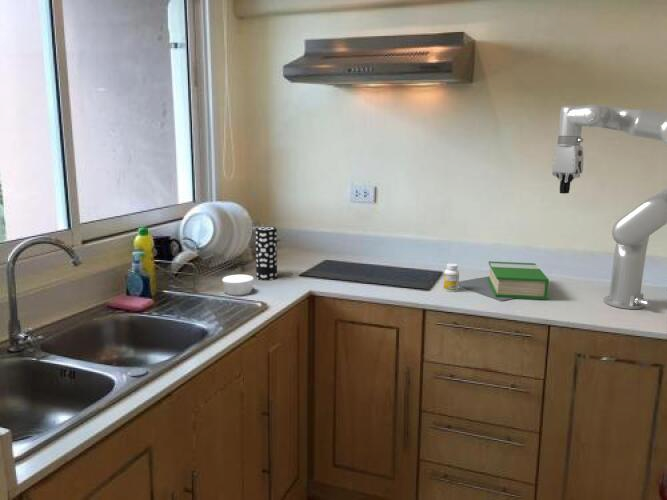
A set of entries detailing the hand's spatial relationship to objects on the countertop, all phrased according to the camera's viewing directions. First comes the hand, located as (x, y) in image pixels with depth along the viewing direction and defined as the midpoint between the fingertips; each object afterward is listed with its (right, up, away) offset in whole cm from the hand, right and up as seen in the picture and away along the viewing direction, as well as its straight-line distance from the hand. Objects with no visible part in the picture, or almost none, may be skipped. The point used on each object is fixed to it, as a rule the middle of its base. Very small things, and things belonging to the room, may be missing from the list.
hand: (564, 193), depth 205 cm
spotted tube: (-110, -32, +22) cm, 117 cm away
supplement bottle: (-39, -36, +9) cm, 54 cm away
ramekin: (-118, -36, +3) cm, 124 cm away
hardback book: (-16, -34, -3) cm, 38 cm away
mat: (-20, -35, +12) cm, 42 cm away
